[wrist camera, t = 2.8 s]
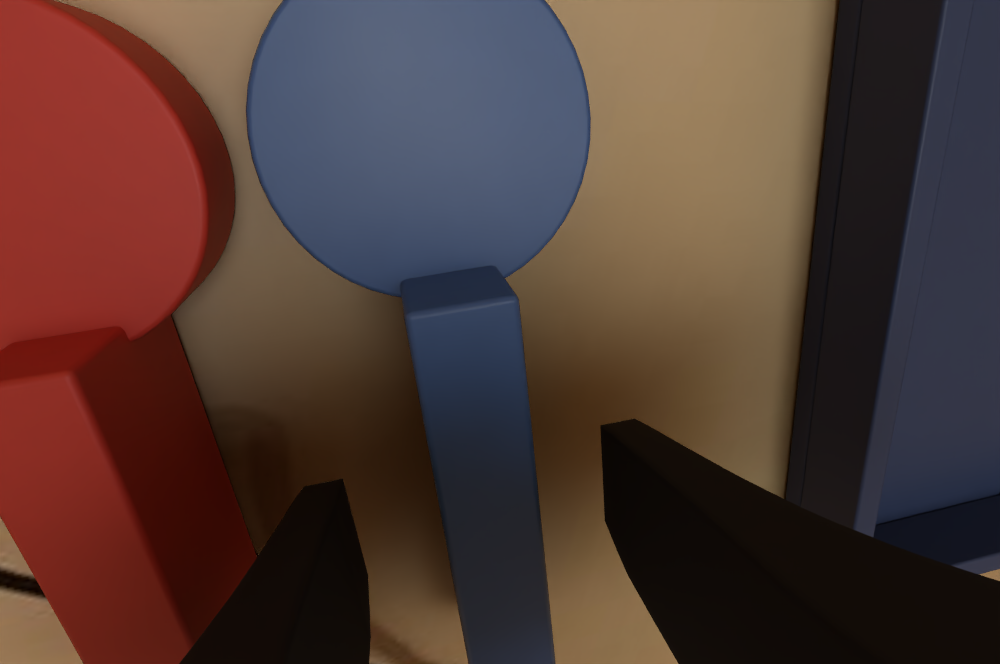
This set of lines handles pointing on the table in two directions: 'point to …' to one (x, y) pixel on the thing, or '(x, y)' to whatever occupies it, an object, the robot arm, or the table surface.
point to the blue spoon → (439, 238)
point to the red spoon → (109, 336)
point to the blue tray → (907, 285)
